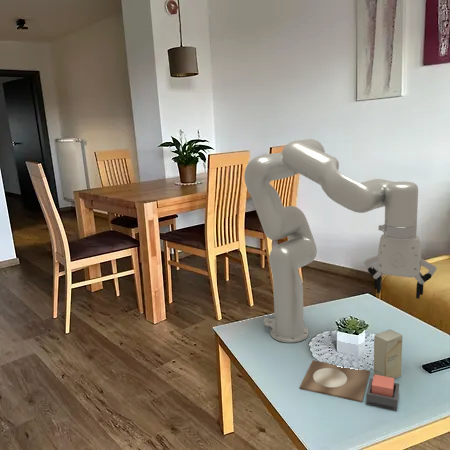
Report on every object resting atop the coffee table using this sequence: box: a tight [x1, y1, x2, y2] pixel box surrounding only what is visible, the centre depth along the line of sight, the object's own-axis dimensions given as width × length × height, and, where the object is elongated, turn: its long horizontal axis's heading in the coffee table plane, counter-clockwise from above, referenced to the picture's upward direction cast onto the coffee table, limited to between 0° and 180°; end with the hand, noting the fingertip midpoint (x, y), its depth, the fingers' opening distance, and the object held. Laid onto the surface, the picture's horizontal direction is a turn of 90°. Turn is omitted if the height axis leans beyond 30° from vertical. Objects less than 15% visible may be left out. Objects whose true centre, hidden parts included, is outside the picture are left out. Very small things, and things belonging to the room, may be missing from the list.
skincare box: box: [373, 329, 403, 380], centre depth 115 cm, size 6×4×12 cm
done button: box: [372, 373, 395, 397], centre depth 106 cm, size 5×5×2 cm
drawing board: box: [299, 360, 371, 403], centre depth 116 cm, size 16×14×1 cm
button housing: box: [365, 377, 400, 412], centre depth 106 cm, size 7×7×3 cm
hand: (398, 294), depth 112 cm, fingers open, 9 cm apart
